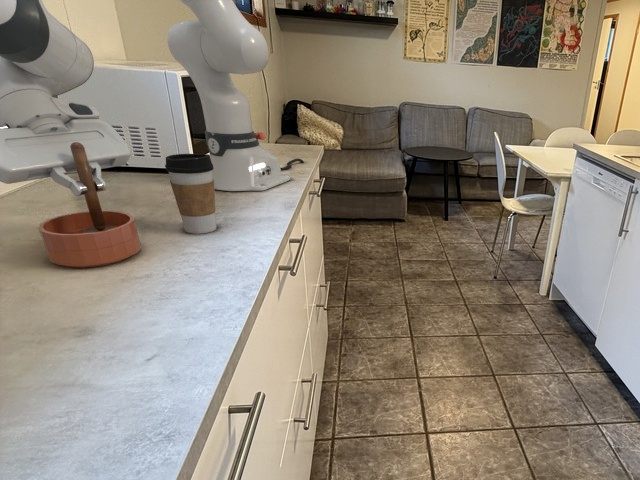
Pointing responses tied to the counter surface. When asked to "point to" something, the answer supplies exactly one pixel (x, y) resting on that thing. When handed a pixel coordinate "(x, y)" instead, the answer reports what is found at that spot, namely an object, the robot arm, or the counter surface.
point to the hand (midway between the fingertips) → (92, 191)
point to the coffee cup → (193, 190)
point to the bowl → (89, 239)
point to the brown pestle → (89, 189)
